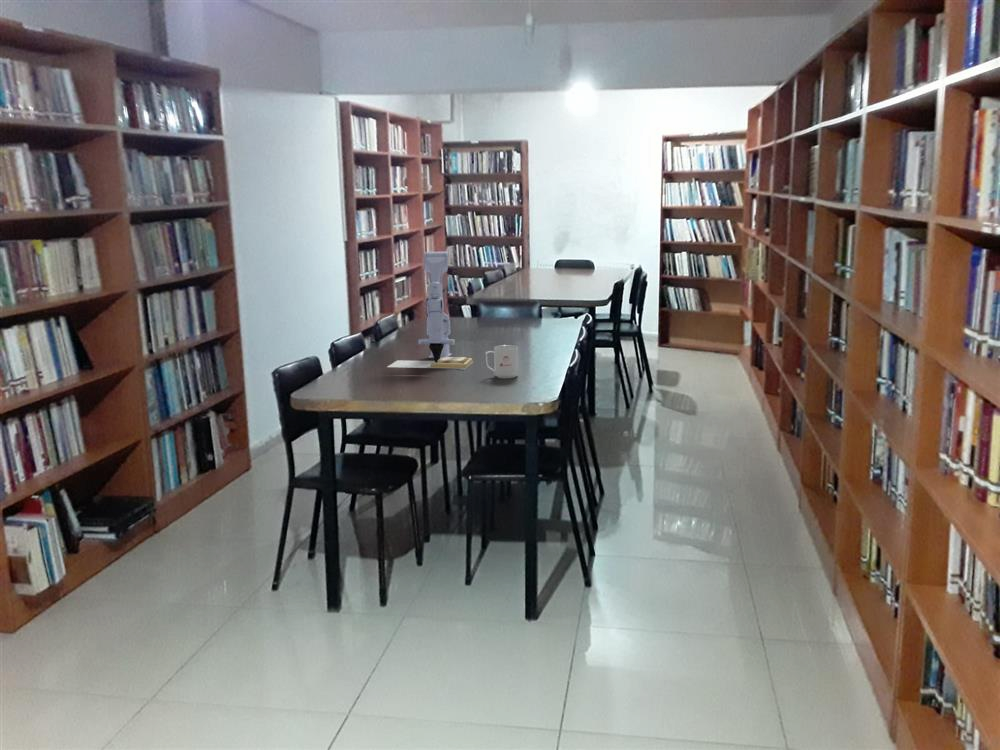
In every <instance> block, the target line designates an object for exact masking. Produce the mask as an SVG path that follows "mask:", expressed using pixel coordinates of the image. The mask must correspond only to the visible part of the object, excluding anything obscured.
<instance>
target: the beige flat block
mask: <svg viewBox="0 0 1000 750" xmlns="http://www.w3.org/2000/svg"><path fill="white" fill-rule="evenodd" d="M466 358H467V357H466V356H448V357H441V358H440V359H438V360H437V362H438V363H452V364H463V363H464V362H465V361H466Z"/></svg>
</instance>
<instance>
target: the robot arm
mask: <svg viewBox="0 0 1000 750" xmlns="http://www.w3.org/2000/svg"><path fill="white" fill-rule="evenodd" d="M448 254H449V253H448V251H446V250H445V251H424V252H423V266H424V270H425V272H426V273H429V274H430V283H429V284H428V287H427V300H426V311H427V318H426V335H427V336H428V338H419V339H418V342H417V343H418V345H429V346H428V347H429V350H430V355H429V356H428V357H427V358H431V359H434V361H435V363H438V362H437V360H438V359H440V358H441V357H451V355H453V353H451V352H450V345H451V346H454V345H456V344H455V343H456V340H455V338H454V339H453V338H449V337H448V336H449V335H451V320H450V319H451V317H449V315H448V314H446V313H445V311H444V309H445V307H444V297H443V295H444V294H443V276H444V273H446V272H448V269H449V255H448Z"/></svg>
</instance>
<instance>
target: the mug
mask: <svg viewBox="0 0 1000 750" xmlns="http://www.w3.org/2000/svg"><path fill="white" fill-rule="evenodd" d="M518 350H519V347H518V346H517V345H511V344H502V345H496V346H494V347H493V350H489V351H485V362H486V364H485V365H486V367H487V368H488V369H489V370H491V371H492V372H493V373H494V375H495V377H496V378H498V379H512V378H513V379H514V378H516V377H517V376H518V375H519V351H518ZM491 353H492V354H493V361H494V363H493V367H494V368H492V367H491V366H489V362H488V354H491Z"/></svg>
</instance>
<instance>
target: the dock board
mask: <svg viewBox="0 0 1000 750" xmlns="http://www.w3.org/2000/svg"><path fill="white" fill-rule="evenodd" d="M473 363H474V361H473V357H472V358H471V357H470V358H469V357H468V358H467V357H466V361H465V362H464V363H463V364H452V363H435V360H407V359H406V360H401V359H399V360H395V361H394V362H392V363H391V364H389V365H387V368H408V369H409V368H411V369H412V368H413V369H414V368H415V369H417V368H418V369H456V371H457V370H458V371H459V370H461V371H462V370H463V371H465V370H467V369H468V368H469V367H470V366H471V365H473Z"/></svg>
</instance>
